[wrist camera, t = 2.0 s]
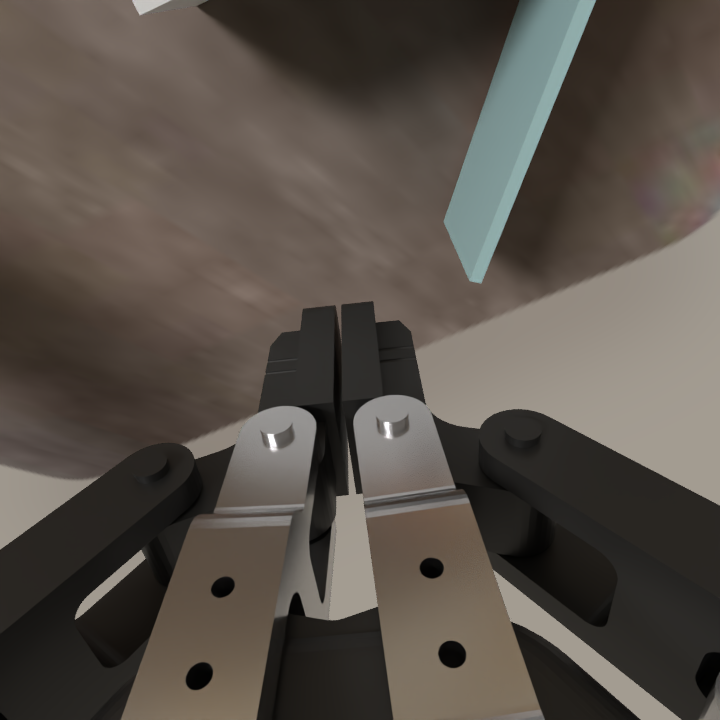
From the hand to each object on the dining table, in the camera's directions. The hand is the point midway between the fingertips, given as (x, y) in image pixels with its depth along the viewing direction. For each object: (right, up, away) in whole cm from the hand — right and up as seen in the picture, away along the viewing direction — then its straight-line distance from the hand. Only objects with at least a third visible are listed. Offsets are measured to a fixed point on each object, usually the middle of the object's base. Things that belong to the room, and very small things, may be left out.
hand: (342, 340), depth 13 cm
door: (+7, +12, +12) cm, 18 cm away
